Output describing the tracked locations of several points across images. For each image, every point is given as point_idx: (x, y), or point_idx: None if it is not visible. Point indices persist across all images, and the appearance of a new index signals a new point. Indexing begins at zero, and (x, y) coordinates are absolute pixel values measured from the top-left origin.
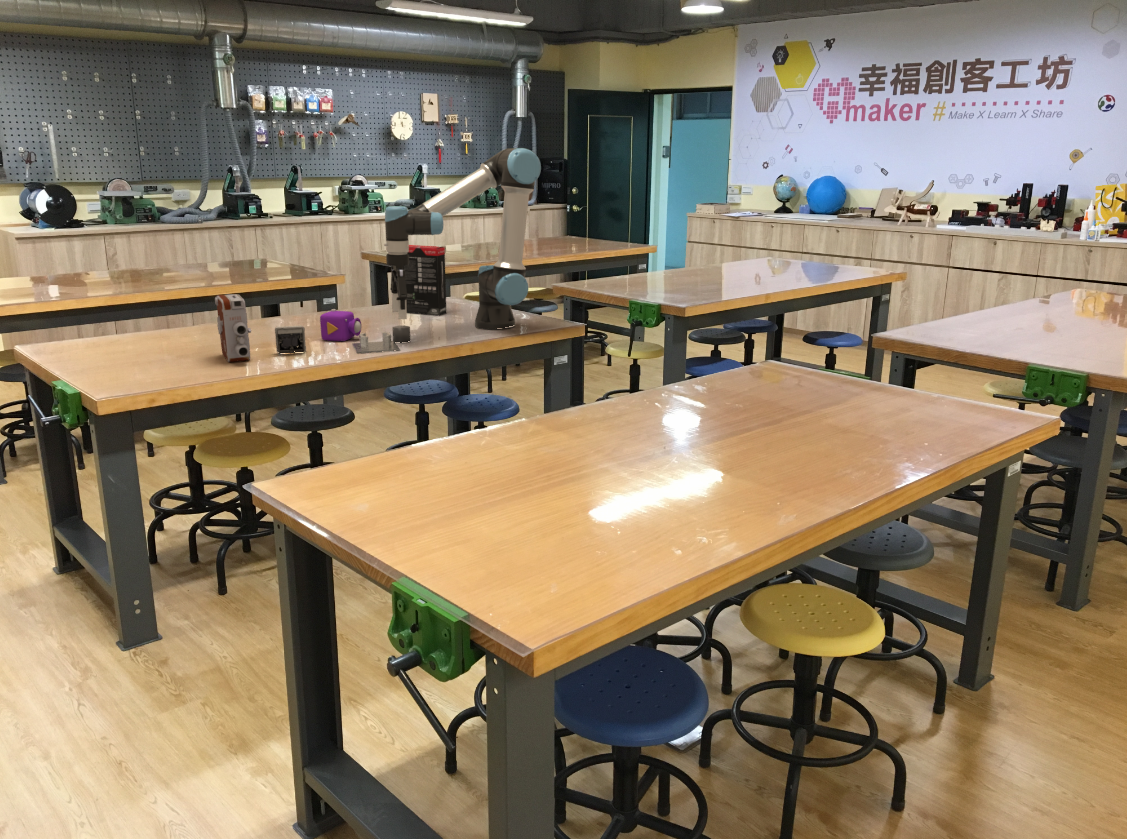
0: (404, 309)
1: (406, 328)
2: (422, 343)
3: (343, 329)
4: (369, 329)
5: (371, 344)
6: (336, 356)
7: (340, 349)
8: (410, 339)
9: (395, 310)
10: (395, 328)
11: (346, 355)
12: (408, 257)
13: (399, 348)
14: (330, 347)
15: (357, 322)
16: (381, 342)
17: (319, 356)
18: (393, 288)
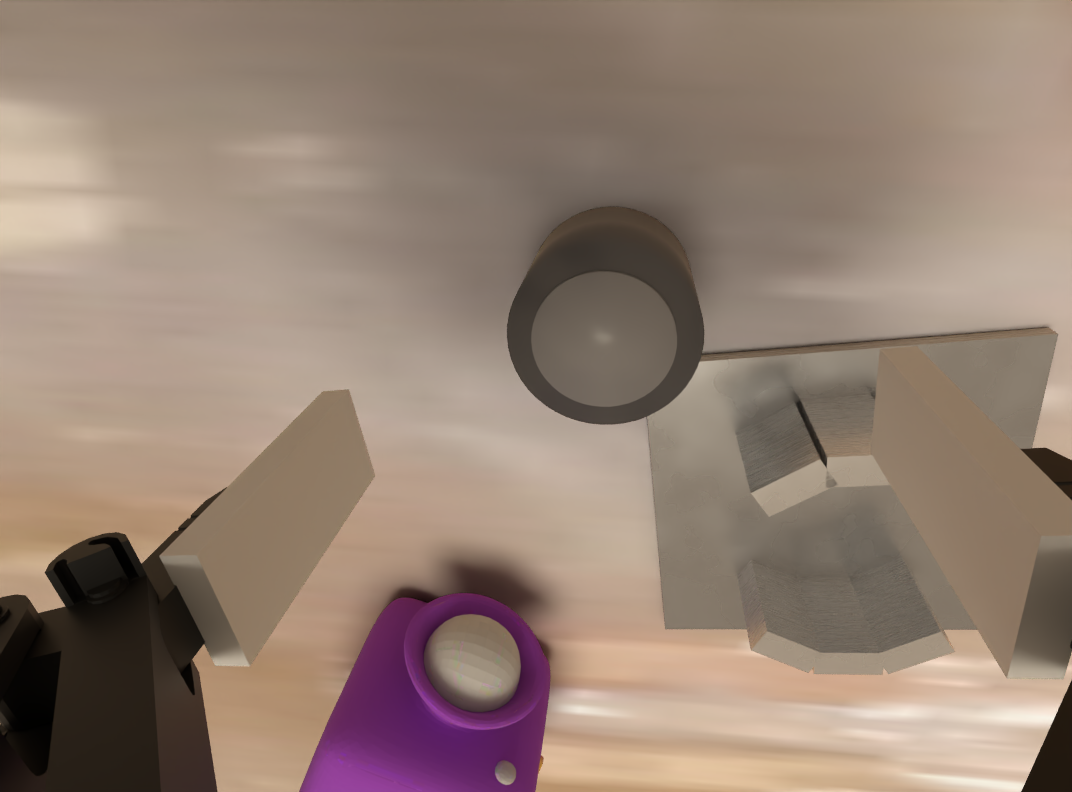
0: (1047, 459)
1: (683, 286)
2: (764, 81)
3: (543, 726)
4: (129, 488)
5: (748, 528)
6: (1002, 719)
7: (782, 683)
8: (615, 210)
9: (357, 457)
10: (652, 399)
11: (1003, 673)
12: None
13: (1026, 337)
14: (699, 718)
15: (482, 687)
16: (690, 459)
17: (950, 782)
18: (205, 749)
